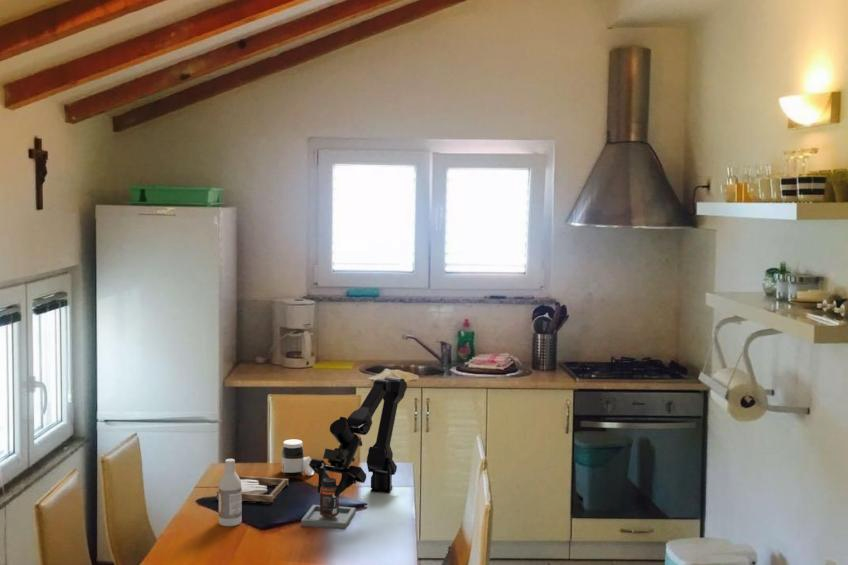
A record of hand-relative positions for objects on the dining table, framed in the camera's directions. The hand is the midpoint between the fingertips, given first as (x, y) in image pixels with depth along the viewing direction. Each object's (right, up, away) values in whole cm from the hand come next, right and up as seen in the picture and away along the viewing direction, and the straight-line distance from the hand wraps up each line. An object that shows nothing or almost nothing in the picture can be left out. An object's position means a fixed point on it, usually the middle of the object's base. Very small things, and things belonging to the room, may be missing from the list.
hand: (326, 494), depth 288 cm
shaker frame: (-28, -5, +25) cm, 38 cm away
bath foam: (-30, -8, -3) cm, 31 cm away
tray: (0, -8, +2) cm, 9 cm away
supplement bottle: (0, -7, +2) cm, 7 cm away
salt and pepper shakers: (-29, -6, +24) cm, 38 cm away
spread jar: (-15, -3, +46) cm, 49 cm away
